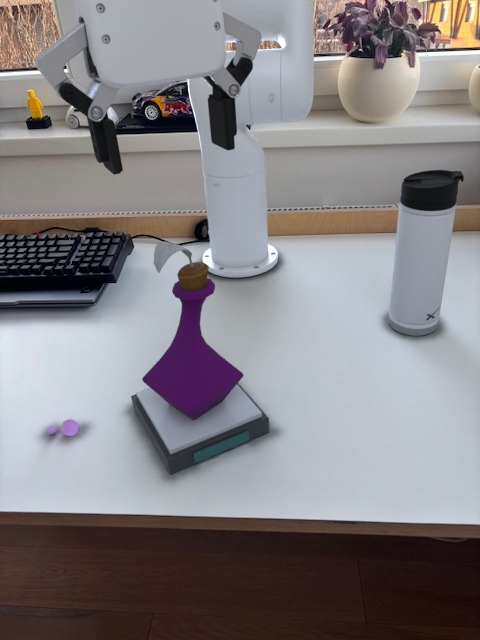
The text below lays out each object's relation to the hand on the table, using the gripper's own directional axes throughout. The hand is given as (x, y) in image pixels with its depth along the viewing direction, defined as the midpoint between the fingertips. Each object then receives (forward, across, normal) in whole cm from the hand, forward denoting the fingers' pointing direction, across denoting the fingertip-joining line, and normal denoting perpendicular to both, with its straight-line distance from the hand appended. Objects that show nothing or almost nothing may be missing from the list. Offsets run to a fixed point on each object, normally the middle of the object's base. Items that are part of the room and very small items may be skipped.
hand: (170, 157), depth 44 cm
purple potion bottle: (+25, +1, +1) cm, 25 cm away
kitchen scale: (+28, +1, +1) cm, 28 cm away
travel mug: (+28, -31, -1) cm, 42 cm away
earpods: (+28, +14, -5) cm, 32 cm away
